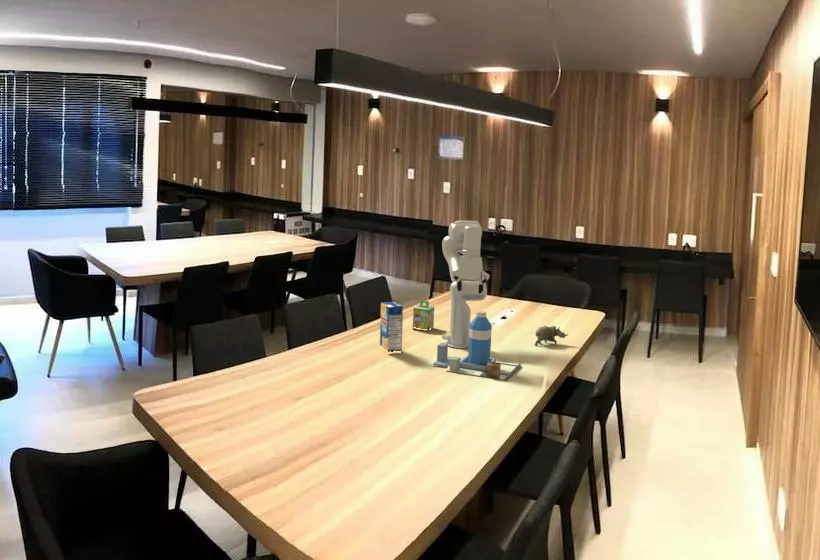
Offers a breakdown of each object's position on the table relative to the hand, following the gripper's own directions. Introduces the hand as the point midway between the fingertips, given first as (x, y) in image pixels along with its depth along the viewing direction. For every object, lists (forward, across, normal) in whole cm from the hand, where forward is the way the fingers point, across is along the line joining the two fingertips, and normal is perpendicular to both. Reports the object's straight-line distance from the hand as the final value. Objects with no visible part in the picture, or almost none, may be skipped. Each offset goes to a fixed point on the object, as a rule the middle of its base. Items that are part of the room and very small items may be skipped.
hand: (469, 291), depth 302 cm
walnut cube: (+29, +20, -24) cm, 43 cm away
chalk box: (+31, -38, +40) cm, 63 cm away
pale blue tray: (+30, +3, -14) cm, 33 cm away
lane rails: (+30, +13, -17) cm, 37 cm away
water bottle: (+31, +10, -14) cm, 35 cm away
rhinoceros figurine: (+31, +28, +42) cm, 59 cm away
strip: (+30, +6, -24) cm, 39 cm away
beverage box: (+31, -35, -7) cm, 47 cm away
